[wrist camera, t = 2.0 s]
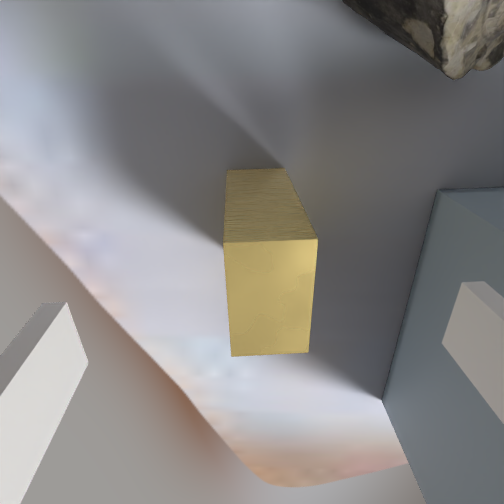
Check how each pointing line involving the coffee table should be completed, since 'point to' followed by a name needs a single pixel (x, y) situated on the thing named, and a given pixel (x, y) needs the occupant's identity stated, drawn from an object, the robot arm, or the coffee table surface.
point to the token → (267, 264)
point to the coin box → (449, 356)
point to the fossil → (442, 30)
